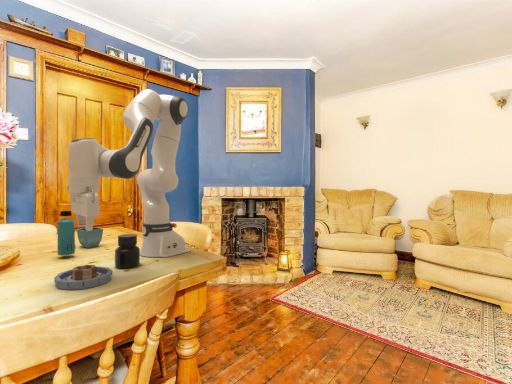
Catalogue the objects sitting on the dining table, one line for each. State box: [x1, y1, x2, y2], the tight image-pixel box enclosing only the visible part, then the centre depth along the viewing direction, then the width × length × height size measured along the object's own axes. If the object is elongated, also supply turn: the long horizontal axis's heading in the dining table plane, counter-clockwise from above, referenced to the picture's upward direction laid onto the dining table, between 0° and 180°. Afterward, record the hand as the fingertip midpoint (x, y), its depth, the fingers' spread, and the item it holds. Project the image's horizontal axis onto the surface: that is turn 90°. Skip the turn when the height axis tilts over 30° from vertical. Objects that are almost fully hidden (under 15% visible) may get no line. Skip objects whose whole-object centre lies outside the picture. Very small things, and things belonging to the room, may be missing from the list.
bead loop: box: [72, 264, 97, 281], centre depth 97 cm, size 6×6×4 cm
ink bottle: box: [114, 233, 141, 270], centre depth 115 cm, size 10×9×12 cm
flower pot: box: [76, 226, 104, 249], centre depth 145 cm, size 9×9×9 cm
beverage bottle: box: [56, 210, 76, 257], centre depth 125 cm, size 6×7×20 cm
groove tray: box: [54, 265, 113, 291], centre depth 97 cm, size 16×16×3 cm
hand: (85, 228), depth 97 cm, fingers open, 8 cm apart
